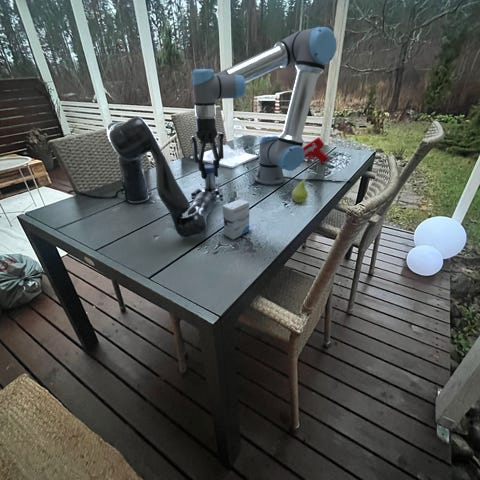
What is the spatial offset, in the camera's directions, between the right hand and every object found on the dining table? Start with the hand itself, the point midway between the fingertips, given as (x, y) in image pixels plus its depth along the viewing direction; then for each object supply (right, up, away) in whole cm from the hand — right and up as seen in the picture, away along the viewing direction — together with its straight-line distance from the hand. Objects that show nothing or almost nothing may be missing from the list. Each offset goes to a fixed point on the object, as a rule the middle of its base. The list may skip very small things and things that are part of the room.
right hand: (209, 176), depth 115 cm
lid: (0, +3, -2) cm, 4 cm away
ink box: (+12, -24, -15) cm, 31 cm away
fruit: (+39, -10, +7) cm, 41 cm away
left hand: (0, -4, +6) cm, 7 cm away
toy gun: (+57, +23, +57) cm, 84 cm away
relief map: (+2, +27, +65) cm, 71 cm away
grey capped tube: (0, -10, +7) cm, 12 cm away
